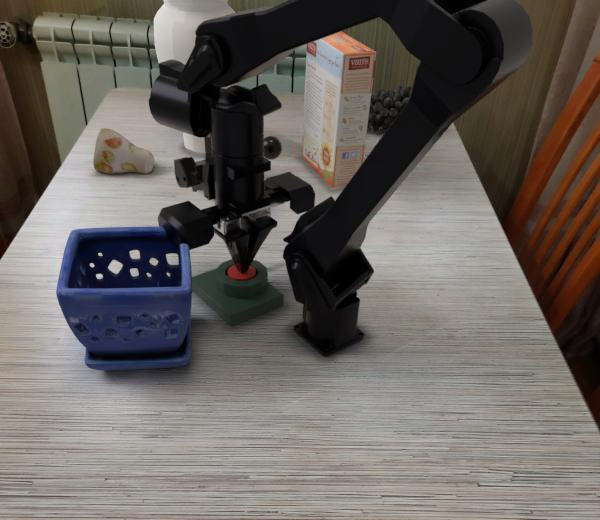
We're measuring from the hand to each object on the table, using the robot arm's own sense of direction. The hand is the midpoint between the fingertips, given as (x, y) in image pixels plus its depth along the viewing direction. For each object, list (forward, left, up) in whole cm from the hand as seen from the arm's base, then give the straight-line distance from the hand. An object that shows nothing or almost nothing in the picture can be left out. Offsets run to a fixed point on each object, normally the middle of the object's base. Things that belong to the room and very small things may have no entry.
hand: (242, 271), depth 77 cm
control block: (0, +1, -4) cm, 4 cm away
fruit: (+33, -56, -4) cm, 65 cm away
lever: (+22, -16, +5) cm, 28 cm away
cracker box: (+23, -34, -4) cm, 41 cm away
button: (0, 0, -2) cm, 2 cm away
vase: (+44, -21, -4) cm, 49 cm away
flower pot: (-2, +15, -4) cm, 16 cm away
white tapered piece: (+42, -4, -4) cm, 42 cm away
